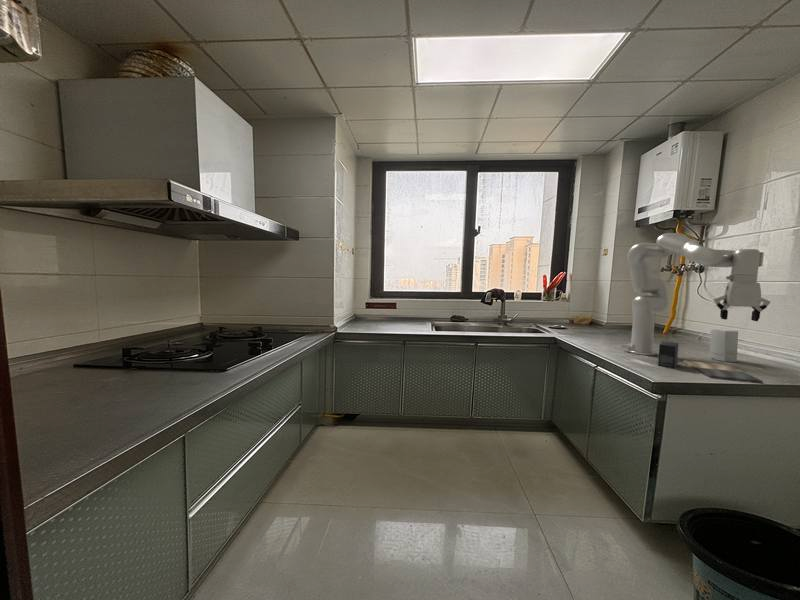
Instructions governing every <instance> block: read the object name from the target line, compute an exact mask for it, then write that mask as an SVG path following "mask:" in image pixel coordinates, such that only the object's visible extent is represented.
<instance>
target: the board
mask: <svg viewBox="0 0 800 600" xmlns="http://www.w3.org/2000/svg"><path fill="white" fill-rule="evenodd" d="M683 362H684V363H683ZM682 363H683V364H684V365H687V366H688V365H689V367H690V366H691V367H690V368H692V367H693V368H692V369H694V370H696V371H697V370H698V373H701V374H702V375H705V376H707V377H708V378H710V379H719V380H726V379H727V380H728V381H736V380H739V381H738V382H745V381H752V382H751V383H755V382H763V380H762V379H759V378H757V377H755V376H753V375H750V374H748V373H746V372H744V371H742V370H739V369H737V368H735V367H733V366H731V365H728V364H725V363H715V362H707V361H706V362H705V361H704V362H703V361H693V360H685V359H684V360H682ZM727 380H726V381H727Z"/></svg>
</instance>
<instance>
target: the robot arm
mask: <svg viewBox="0 0 800 600" xmlns="http://www.w3.org/2000/svg"><path fill="white" fill-rule="evenodd" d="M760 253H761V251H760V250H759V249H756V248H746V249H745V248H744V249H743V248H742V249H737V250H732V249H731V250H730V249H714V248H710V247H707V246H704V245H703V246H702V245H700V241H698V240H697V239H695V238H690V237H689V236H688V235H686V234H684V233H677V232H666V233H662V234H661V235H659V236H658V237H657V238H656V242H655V243H654V242H640V243H637V244H634V245H632V247H630V249H629V251H628V252H627V259H626V260H627V263H628V268H629V273H630V279H631V286H632V290H633V291H634V292H635V293H639V294H647V295H638V296H636V297H635V298H634V299H632V301H631V311H632V325H631V326H632V327H631V338H630V339H631V341H630V342H629V343H627V344H625V343H620V348H624V349H626V351H627V352H628V353H630V354H631V353H632V354H635V355H640V356H655V355H657V352H656V351H654V350H653V347H654V346H653V345H654V333H655V317H654V315H653V314H655V313H656V314H657V313H658V314H659V313H662V312H663V313H664V312H665V311H666V309H667V308H668V304H669V303H668V302H669V301H668V295H667V289H666V284H665V281H664V280H663V279H662V278H661V277H659V276H654V275H651V272H650V271H651V270H650V267H649V265H648V263H647V261H646V260H660V259H663V258H664V259H665V258H666V257H669V256H671V255H673V254H676V255H678V256H682V257H684V259H685V258H686V260H689V261H690V262H693V263H696V264H699V265H702V266H705V267H709V268H731V270H730V274H729V275H728V276H726V280H729V282H727V285H726V287H725V291H724V295H722V296H720V297H719V296H718V297H716V298H713V302H714V303H715V306H716V307H718V309H719V310H720V313H719V317H720V319H721V320H725V321H726V320H728V315H729V314H728V313H729V308H730V307H731V306H732V307H744V308H745V307H747V308H749V307H750V308H752V311H751V319H750V320H751V321H753V322H759V320H760V318H761V312H763V311H764V310H765V309H766V308H768V306H769V305H770V304H771V301H770V300H768V299H765V298H764V297H762V288H761V283H760V282H757V281H758V273H759V266H760V265H759V264H760V255H761V254H760ZM721 301H723V304H722V303H721ZM761 303H762V304H761Z"/></svg>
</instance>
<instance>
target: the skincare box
mask: <svg viewBox="0 0 800 600" xmlns="http://www.w3.org/2000/svg"><path fill="white" fill-rule="evenodd" d="M709 337H710V338H709V359H712V358H713V359H712V360H716V361H721V362H725V363H726V362H727V363H737V362H738V348H739V347H738V343H739V330H732V329H725V328H711V329H710V336H709Z"/></svg>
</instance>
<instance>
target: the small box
mask: <svg viewBox="0 0 800 600" xmlns="http://www.w3.org/2000/svg"><path fill="white" fill-rule="evenodd" d="M678 355H679V343H678V342H674V341H672V342H671V341H661V342H660V343H659V345H658V356H657V359H658V360H657V366H659V367H664V368H665V367H666V368H669V367H670V369H676V367H677V365H678Z"/></svg>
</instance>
